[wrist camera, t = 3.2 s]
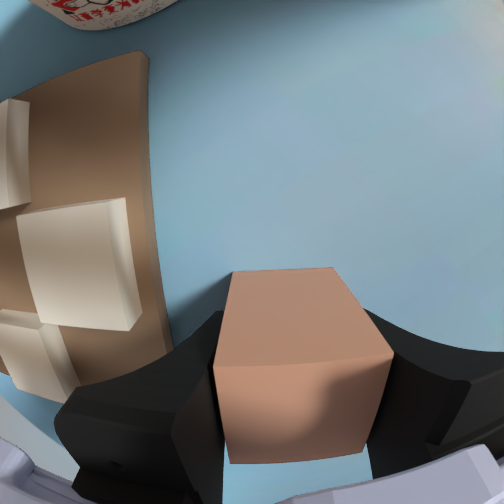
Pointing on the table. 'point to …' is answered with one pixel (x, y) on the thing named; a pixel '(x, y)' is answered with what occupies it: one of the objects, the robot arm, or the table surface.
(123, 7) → the teacup with lid
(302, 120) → the table surface
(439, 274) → the table surface
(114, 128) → the walnut board
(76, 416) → the robot arm
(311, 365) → the terracotta block
